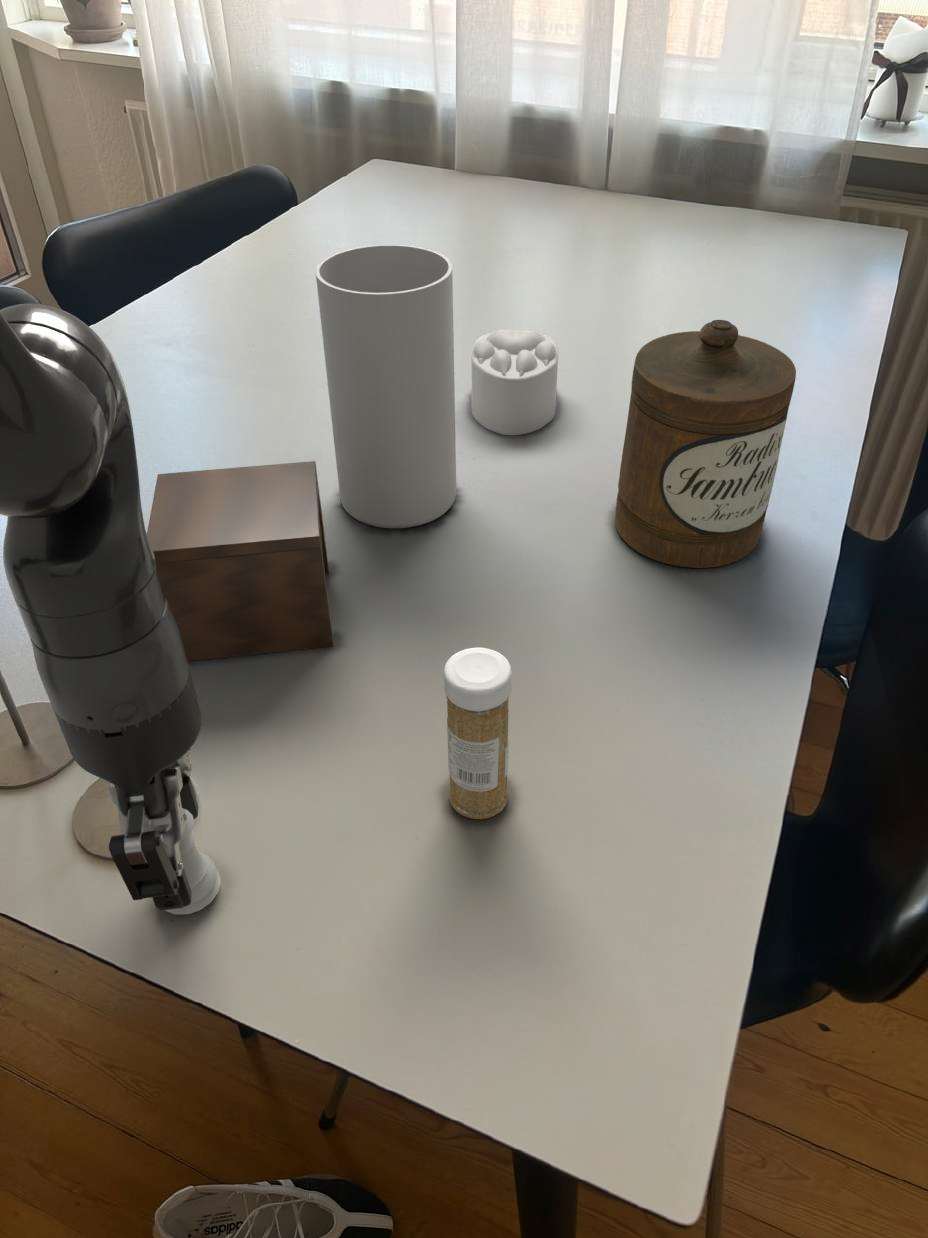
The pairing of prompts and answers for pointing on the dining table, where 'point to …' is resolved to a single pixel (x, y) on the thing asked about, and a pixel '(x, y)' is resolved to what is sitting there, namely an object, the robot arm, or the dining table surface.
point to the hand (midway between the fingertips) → (179, 858)
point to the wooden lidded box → (243, 559)
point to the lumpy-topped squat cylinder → (514, 381)
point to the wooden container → (702, 445)
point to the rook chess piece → (194, 867)
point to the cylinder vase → (390, 381)
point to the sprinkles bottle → (478, 731)
